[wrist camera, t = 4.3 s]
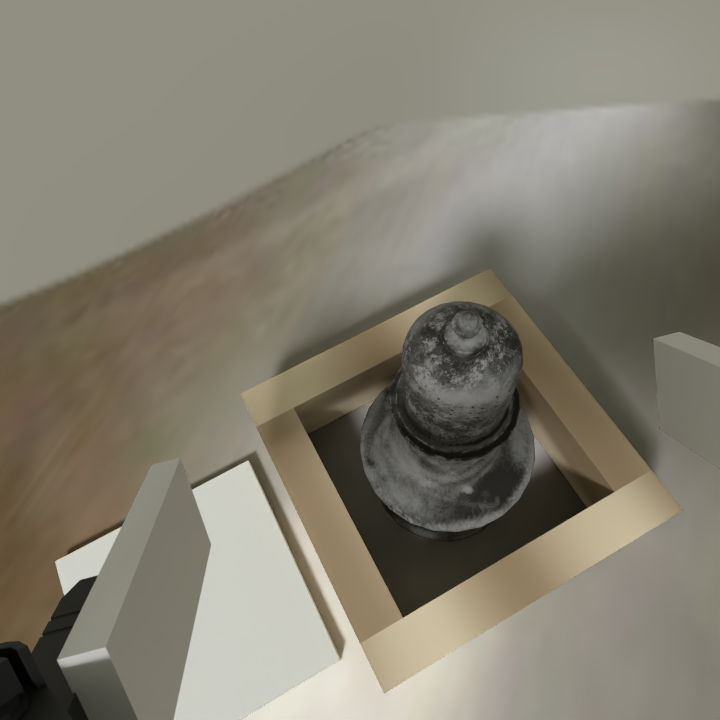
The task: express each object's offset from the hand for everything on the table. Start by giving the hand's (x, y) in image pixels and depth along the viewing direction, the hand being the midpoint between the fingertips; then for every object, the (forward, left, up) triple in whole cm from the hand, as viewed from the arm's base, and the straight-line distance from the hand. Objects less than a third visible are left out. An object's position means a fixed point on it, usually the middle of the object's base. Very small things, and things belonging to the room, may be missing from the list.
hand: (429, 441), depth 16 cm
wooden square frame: (-1, -1, -7) cm, 8 cm away
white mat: (+9, -1, -7) cm, 12 cm away
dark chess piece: (-1, -1, -8) cm, 8 cm away
